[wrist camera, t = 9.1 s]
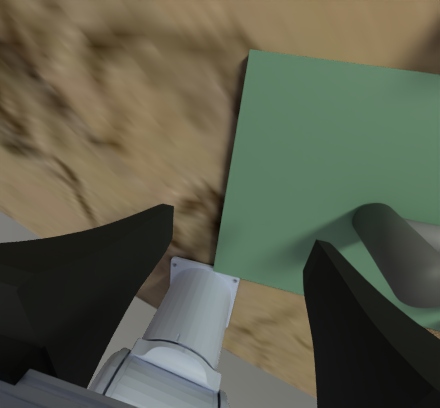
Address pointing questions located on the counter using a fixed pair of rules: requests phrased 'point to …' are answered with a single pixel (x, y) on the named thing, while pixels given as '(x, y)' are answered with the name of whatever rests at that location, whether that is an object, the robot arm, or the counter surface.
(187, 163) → the counter surface
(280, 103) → the board
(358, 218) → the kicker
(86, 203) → the counter surface
